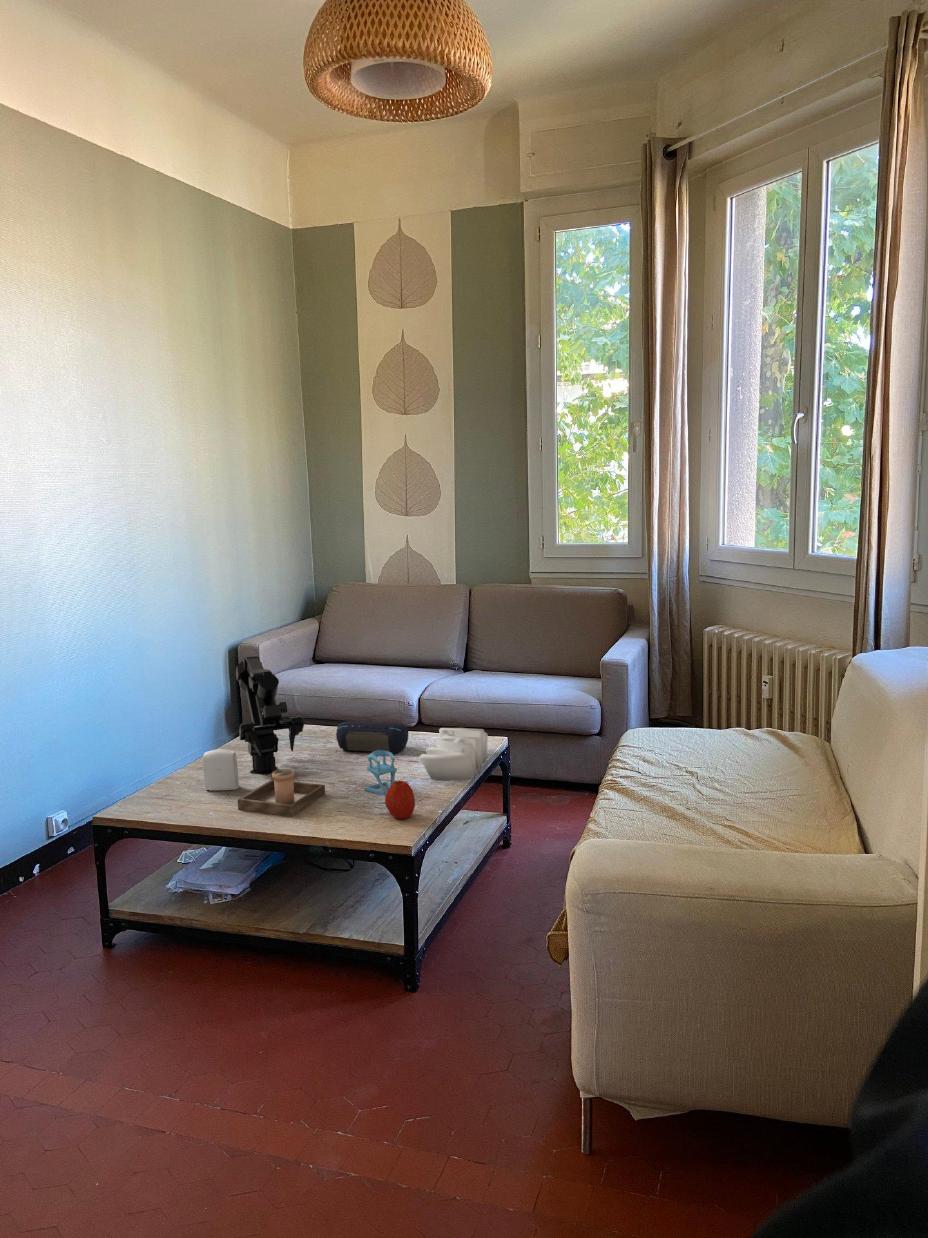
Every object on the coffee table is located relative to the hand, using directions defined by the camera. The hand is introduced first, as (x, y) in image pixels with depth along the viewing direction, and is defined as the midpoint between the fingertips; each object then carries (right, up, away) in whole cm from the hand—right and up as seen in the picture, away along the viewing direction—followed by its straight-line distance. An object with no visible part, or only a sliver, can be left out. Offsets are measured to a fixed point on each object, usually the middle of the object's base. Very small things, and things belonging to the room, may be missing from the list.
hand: (276, 752), depth 262 cm
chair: (+31, -12, +5) cm, 33 cm away
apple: (+38, -15, -16) cm, 44 cm away
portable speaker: (+23, -6, +44) cm, 50 cm away
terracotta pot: (+4, -14, -5) cm, 16 cm away
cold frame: (+2, -14, -2) cm, 14 cm away
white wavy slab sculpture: (+53, -9, +24) cm, 59 cm away
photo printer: (-19, -13, +10) cm, 25 cm away
